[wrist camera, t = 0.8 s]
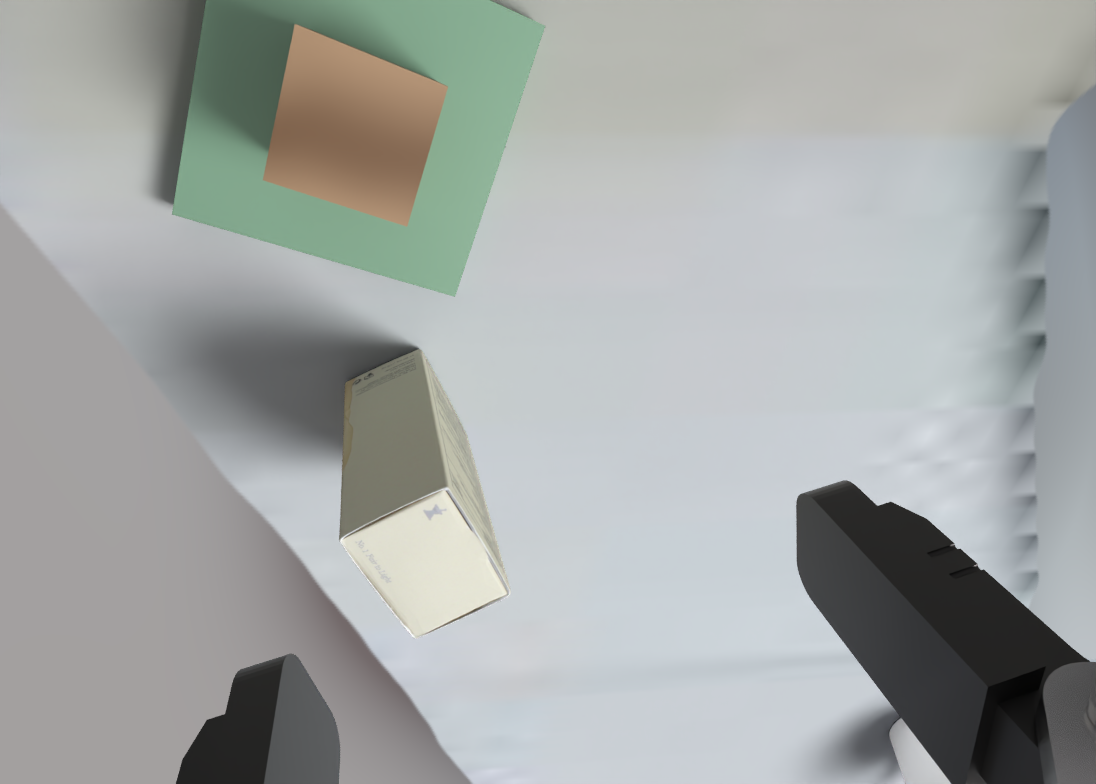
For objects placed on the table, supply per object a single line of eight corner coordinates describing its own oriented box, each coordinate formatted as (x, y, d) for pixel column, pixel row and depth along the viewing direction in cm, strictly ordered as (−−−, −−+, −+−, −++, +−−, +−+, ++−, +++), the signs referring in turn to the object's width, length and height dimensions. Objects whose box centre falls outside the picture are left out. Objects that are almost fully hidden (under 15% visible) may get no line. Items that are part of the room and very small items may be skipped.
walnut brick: (308, 28, 25) (295, 23, 21) (436, 80, 27) (448, 86, 22) (281, 159, 27) (262, 180, 22) (402, 200, 28) (407, 226, 24)
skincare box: (342, 380, 33) (327, 535, 22) (424, 343, 33) (447, 481, 22) (400, 472, 36) (410, 646, 25) (474, 439, 36) (514, 598, 26)
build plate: (232, -117, 23) (225, -124, 22) (538, 27, 28) (545, 26, 27) (179, 208, 28) (172, 214, 27) (452, 288, 32) (454, 296, 31)
